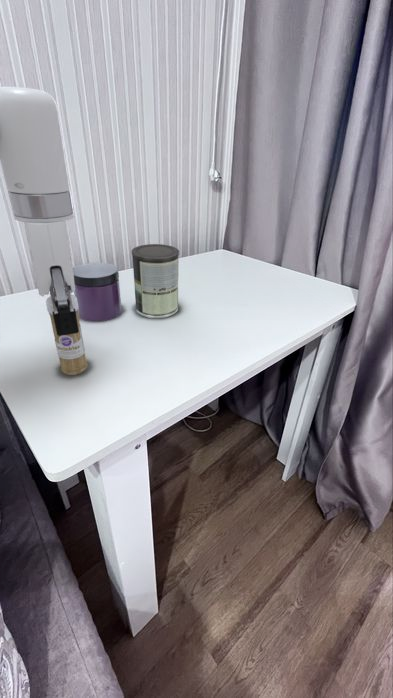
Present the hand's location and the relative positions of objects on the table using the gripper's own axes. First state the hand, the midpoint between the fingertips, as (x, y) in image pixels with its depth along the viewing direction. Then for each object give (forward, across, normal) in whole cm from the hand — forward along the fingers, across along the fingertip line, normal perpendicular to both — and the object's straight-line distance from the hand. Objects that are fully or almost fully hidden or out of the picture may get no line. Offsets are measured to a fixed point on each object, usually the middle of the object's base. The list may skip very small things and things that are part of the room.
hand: (66, 324), depth 54 cm
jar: (+9, -21, +8) cm, 24 cm away
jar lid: (-1, -21, +8) cm, 22 cm away
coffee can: (+9, -18, +21) cm, 29 cm away
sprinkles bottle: (+9, 0, 0) cm, 9 cm away
